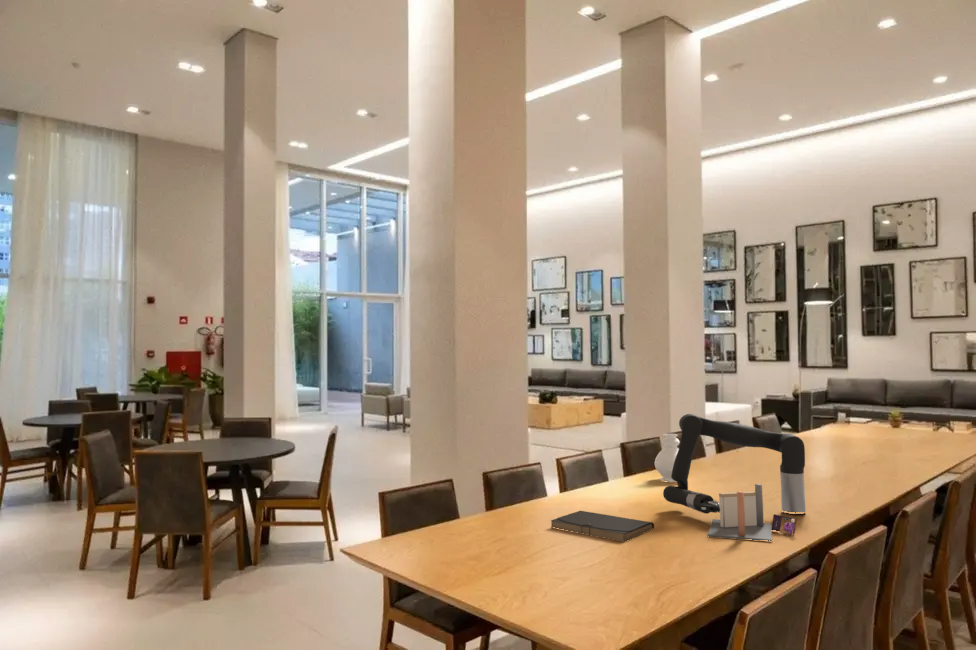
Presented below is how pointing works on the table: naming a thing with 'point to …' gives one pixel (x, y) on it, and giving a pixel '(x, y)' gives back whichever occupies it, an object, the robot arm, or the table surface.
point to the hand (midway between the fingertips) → (729, 511)
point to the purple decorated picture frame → (787, 526)
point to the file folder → (602, 525)
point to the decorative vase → (667, 457)
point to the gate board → (734, 531)
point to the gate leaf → (731, 510)
